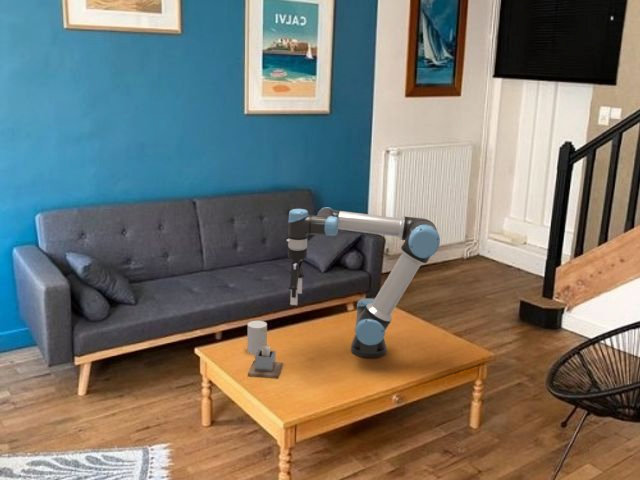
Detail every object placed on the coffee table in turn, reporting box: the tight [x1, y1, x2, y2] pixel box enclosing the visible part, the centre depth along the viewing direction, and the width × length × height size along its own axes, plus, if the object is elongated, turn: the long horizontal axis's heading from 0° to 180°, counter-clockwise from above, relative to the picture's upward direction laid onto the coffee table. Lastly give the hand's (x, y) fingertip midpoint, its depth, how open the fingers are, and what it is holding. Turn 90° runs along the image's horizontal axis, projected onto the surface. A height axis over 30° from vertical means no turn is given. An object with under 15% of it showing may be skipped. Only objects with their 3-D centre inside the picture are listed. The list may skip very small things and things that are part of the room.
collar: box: [254, 350, 277, 372], centre depth 269 cm, size 7×7×6 cm
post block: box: [247, 344, 284, 379], centre depth 269 cm, size 12×12×10 cm
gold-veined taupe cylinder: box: [246, 320, 268, 356], centre depth 287 cm, size 8×8×12 cm
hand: (296, 298), depth 274 cm, fingers open, 13 cm apart
